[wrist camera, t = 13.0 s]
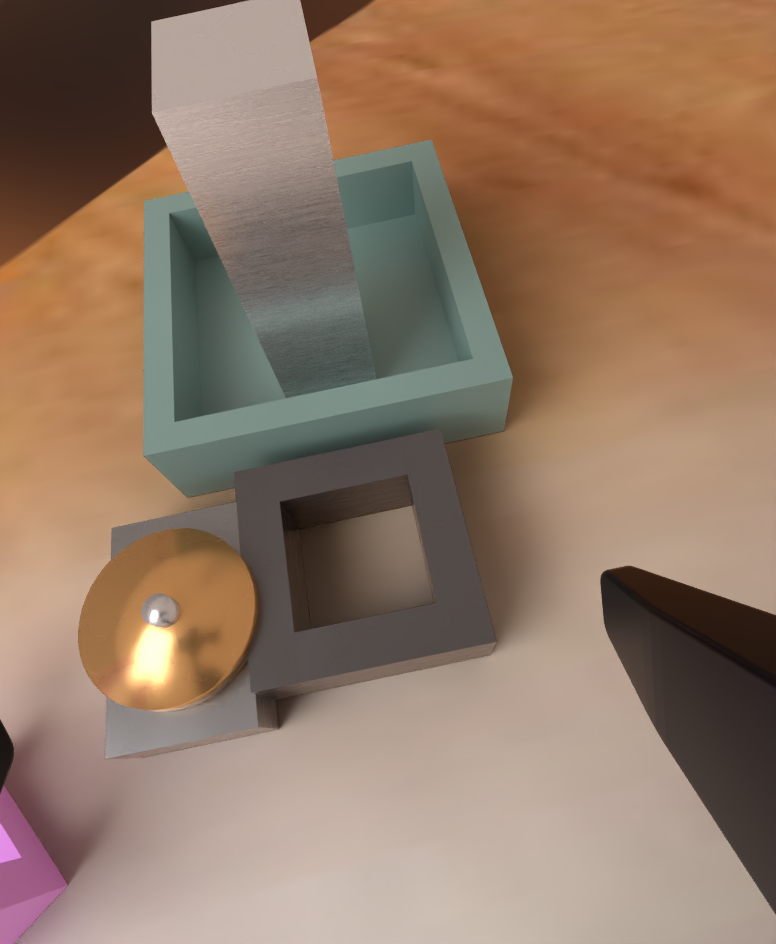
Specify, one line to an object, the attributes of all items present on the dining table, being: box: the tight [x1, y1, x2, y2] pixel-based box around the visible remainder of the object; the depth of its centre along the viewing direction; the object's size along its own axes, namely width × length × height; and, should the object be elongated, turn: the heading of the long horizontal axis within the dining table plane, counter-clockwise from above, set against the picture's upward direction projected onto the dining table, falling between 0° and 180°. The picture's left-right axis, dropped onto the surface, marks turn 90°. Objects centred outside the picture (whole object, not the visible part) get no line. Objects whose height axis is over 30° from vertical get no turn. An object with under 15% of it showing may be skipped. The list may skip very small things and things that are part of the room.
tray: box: [143, 140, 513, 498], centre depth 26 cm, size 14×14×4 cm
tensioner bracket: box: [78, 429, 497, 759], centre depth 21 cm, size 9×14×4 cm, turn 101°
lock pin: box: [152, 0, 376, 398], centre depth 20 cm, size 4×4×13 cm
